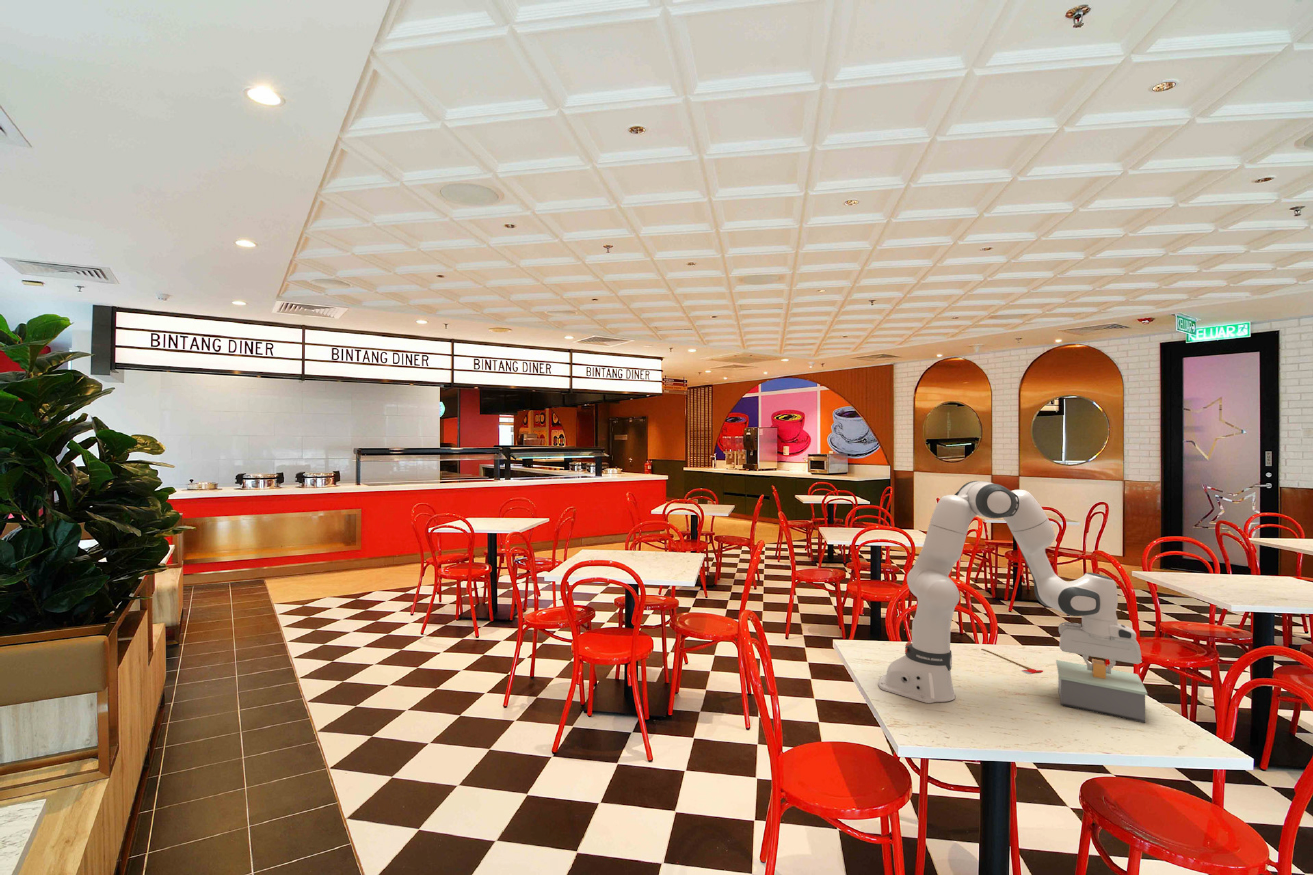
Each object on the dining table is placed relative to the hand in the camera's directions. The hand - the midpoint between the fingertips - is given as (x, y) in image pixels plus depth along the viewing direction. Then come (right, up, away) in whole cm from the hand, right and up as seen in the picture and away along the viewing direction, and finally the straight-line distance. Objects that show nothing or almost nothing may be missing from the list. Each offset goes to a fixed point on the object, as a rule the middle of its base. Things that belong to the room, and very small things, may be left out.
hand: (1098, 671), depth 182 cm
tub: (0, -10, 0) cm, 10 cm away
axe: (-4, -11, +37) cm, 39 cm away
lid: (0, -3, 0) cm, 3 cm away
